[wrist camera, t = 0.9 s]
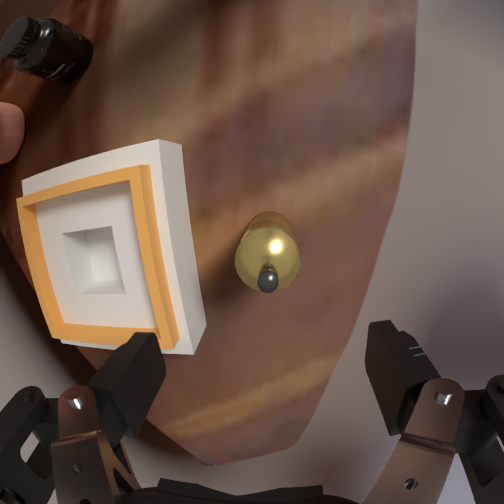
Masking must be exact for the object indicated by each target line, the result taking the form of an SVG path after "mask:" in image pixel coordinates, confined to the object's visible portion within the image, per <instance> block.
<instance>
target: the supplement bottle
mask: <svg viewBox="0 0 504 504" xmlns="http://www.w3.org/2000/svg"><path fill="white" fill-rule="evenodd" d="M92 54H93V45H92V43H91V41H90V40H89V39H88V38H87V37H85V36H83V35H82V34H80V33H78V32H77V31H75V30H73V29H71V28H70V27H68V26H66V25H64V24H63V23H61V22H59V21H57V20H55V19H53V18H49V17H47V18H42V19H39V20H36V19H32V18H30V17H28V16H23V17H20V18H19V19H17V20H16V21H15V22H14V23H13V24H12V25H11V26H10V27H9V29H8V30H7V32H6V33H5V35H4V37H3V39H2V41H1V44H0V56H1V57H3V58H7V59H9V60H12V61H13V64H14V66H15V68H16V69H17V70H18V71H20V72H23V73H27V74H30V75H34V76H37V77H41V78H44V79H48V80H51V81H54V82H58V83H69V82H71V81H73V80H75V79H76V78H78V77H79V76H80V75H81V74H82V73H83V72H84V71H85V69H86V68H87V66H88V65H89V63H90V61H91V58H92Z"/></svg>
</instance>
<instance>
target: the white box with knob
mask: <svg viewBox="0 0 504 504" xmlns="http://www.w3.org/2000/svg"><path fill="white" fill-rule="evenodd" d="M22 188H23V197H20V198H17V199H16V201H17V208H18V215H19V221H20V227H21V232H22V237H23V242H24V247H25V252H26V256H27V260H28V264H29V268H30V272H31V276H32V279H33V283H34V286H35V289H36V293H37V296H38V299H39V302H40V305H41V308H42V311H43V314H44V317H45V319H46V322H47V325H48V327H49V330H50V333H51V335H52V338H58V339H61V342H62V343H65V344H72V345H79V346H86V347H94V348H103V349H112V350H115V349H117V348H118V347H120V346H121V345H123V344H124V343H127V341H128V340H129V339H130V338H131V336H132V335H133V334H134V333H135V332H154V333H155V334H156V336H157V338H158V342H159V345H160V348H161V352H162V353H166V354H193V355H194V353H195V351H196V348H197V346H198V344H199V341H200V339H201V337H202V334H203V332H204V330H205V327H206V325H207V324H206V318H205V313H204V307H203V302H202V296H201V290H200V284H199V278H198V272H197V266H196V259H195V253H194V246H193V239H192V232H191V225H190V217H189V210H188V202H187V193H186V185H185V176H184V167H183V157H182V146H181V144H177V143H173V142H168V141H164V140H160V139H157V140H153V141H148V142H144V143H139V144H135V145H131V146H127V147H123V148H119V149H115V150H111V151H108V152H104V153H100V154H97V155H94V156H90V157H87V158H84V159H80V160H77V161H74V162H71V163H68V164H65V165H62V166H59V167H56V168H53V169H50V170H48V171H45V172H42V173H39V174H37V175H34V176H32V177H29V178H27V179H24V180H22Z"/></svg>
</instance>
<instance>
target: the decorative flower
mask: <svg viewBox="0 0 504 504" xmlns="http://www.w3.org/2000/svg"><path fill="white" fill-rule="evenodd" d="M24 130H25V118H24V115H23V112H22V110H21V109H20V108H19V107H17V106H16V105H13V104H9V103H4V102H0V164H3V163H7V162H8V161H10V160H12V159H13V158H14V157H15V156H16V154H17V152H18V151H19V149H20V147H21V144H22V141H23V137H24Z"/></svg>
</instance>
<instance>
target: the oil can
mask: <svg viewBox="0 0 504 504" xmlns="http://www.w3.org/2000/svg"><path fill="white" fill-rule="evenodd" d="M235 267H236V271H237V273H238V275H239V277H240V278H241V280H242V281H243V282H244V283H245V284H246V285H248V286H249V287H251V288H253V289H255V290H257V291H261V292H265V293H271V292H274V291H278V290H280V289H283V288H285V287H286V286H288V285H289V284H290V283H291V282H292V281H293V280H294V279H295V277H296V275H297V273H298V271H299V267H300V255H299V251H298V248H297V244H296V241H295V237H294V234H293V230H292V227H291V224H290V223H289V221H288V220H287V219H286V218H285V217H284V216H283V215H281V214H279V213H277V212H271V211H268V212H263V213H260V214H258V215H256V216H255V217H254V218H253V219H252V220H251V222H250V223H249V225H248V227H247V229H246V231H245V234H244V236H243V238H242V240H241V242H240V244H239V246H238V248H237V251H236V254H235Z"/></svg>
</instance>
